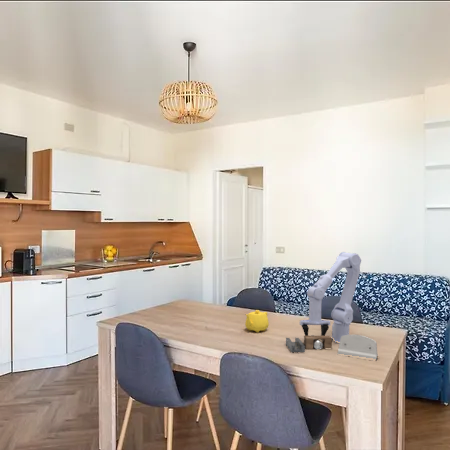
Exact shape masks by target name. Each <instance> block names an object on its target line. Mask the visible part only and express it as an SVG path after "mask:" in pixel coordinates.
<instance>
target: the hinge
mask: <svg viewBox="0 0 450 450" xmlns="http://www.w3.org/2000/svg"><path fill="white" fill-rule="evenodd" d="M338 354H344V355H352V356H359V357H366V358H373V359H376V360H377V359H378V358H377V356H378V344H377V341H376V340H374V339H373V338H370V337H367V336H365V335H361V334H349V335H344V336H342V337H341V339H340V343H338V349H337V355H338ZM378 357H379V356H378Z"/></svg>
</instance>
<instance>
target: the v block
mask: <svg viewBox="0 0 450 450" xmlns="http://www.w3.org/2000/svg"><path fill="white" fill-rule="evenodd" d="M294 339H295V341H292V339H291V338H290V337H285V346H286V347H287V346H288V347H287V349H288V350H289V349H290V350H289V351H290V353H291V352H306V348H305V345H304V342H303V341H302V340H301V339H300V338H299V337H295V338H294Z"/></svg>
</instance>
